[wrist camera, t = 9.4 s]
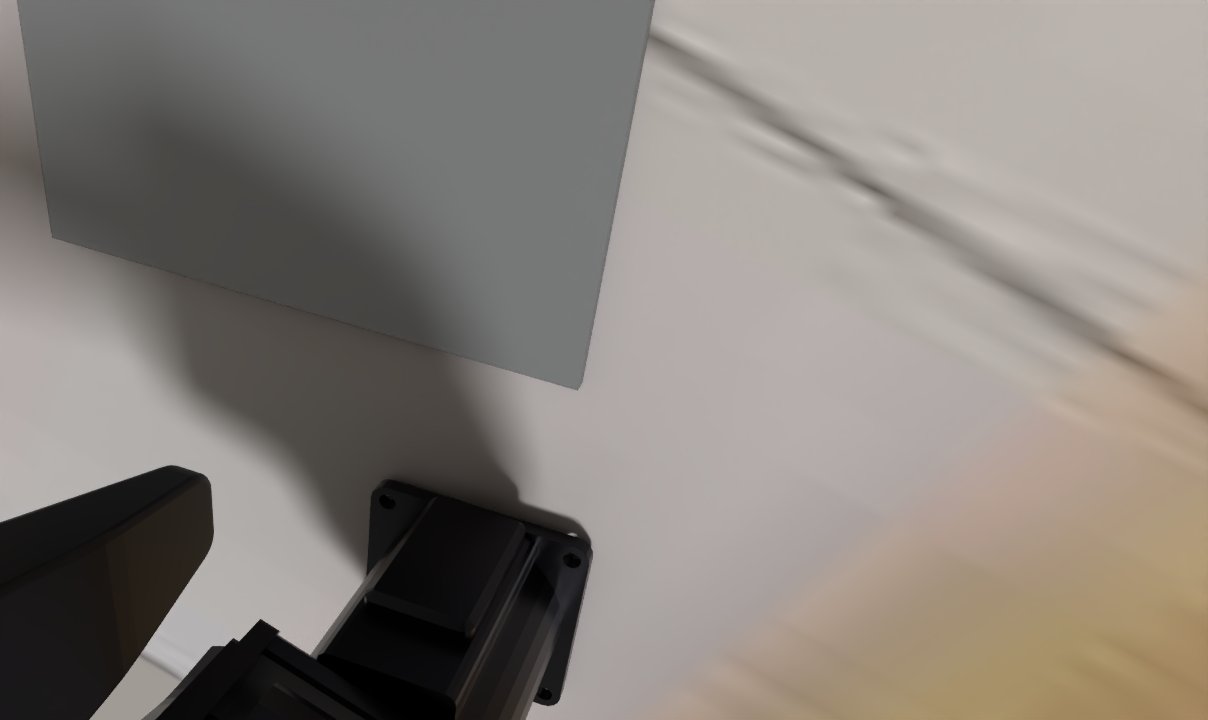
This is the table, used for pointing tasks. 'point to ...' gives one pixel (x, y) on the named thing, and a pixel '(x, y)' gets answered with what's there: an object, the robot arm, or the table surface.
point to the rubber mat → (352, 156)
